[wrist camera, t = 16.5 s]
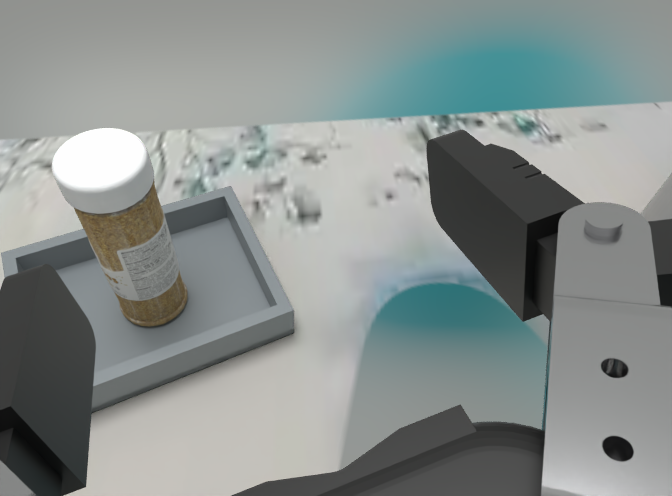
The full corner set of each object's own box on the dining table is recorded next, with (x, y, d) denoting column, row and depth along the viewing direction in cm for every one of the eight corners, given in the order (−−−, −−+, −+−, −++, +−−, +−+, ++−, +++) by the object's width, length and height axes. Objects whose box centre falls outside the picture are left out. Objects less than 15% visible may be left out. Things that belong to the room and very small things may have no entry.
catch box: (234, 212, 43) (230, 185, 41) (293, 332, 37) (293, 310, 34) (19, 278, 38) (1, 252, 36) (44, 431, 32) (24, 412, 29)
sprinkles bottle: (111, 291, 37) (37, 142, 27) (173, 264, 39) (127, 113, 28) (136, 341, 35) (65, 201, 24) (200, 310, 37) (161, 165, 26)
